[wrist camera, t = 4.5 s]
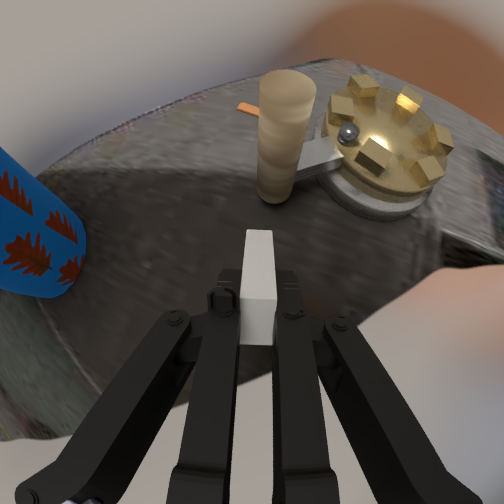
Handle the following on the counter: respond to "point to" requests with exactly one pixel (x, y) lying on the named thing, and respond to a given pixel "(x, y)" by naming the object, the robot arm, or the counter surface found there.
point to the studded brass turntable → (348, 139)
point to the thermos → (36, 235)
